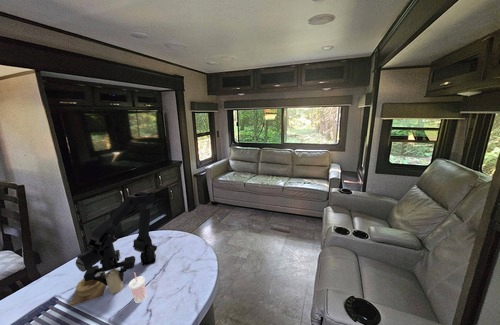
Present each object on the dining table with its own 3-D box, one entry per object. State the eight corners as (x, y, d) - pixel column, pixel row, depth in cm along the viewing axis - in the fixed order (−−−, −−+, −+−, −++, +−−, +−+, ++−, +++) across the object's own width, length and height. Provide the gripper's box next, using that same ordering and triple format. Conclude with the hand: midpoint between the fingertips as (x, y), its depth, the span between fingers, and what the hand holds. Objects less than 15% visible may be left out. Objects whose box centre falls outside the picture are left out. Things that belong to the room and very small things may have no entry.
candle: (116, 294, 90) (111, 277, 88) (106, 293, 92) (101, 275, 89) (126, 284, 96) (121, 267, 93) (116, 282, 97) (112, 265, 94)
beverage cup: (141, 305, 85) (135, 279, 81) (129, 303, 86) (122, 277, 82) (151, 293, 91) (145, 267, 87) (139, 291, 92) (133, 266, 88)
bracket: (110, 273, 103) (108, 267, 101) (102, 296, 90) (100, 289, 89) (81, 281, 98) (79, 275, 97) (69, 306, 86) (67, 299, 85)
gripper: (133, 238, 99) (139, 264, 103) (88, 249, 92) (96, 276, 96) (130, 252, 89) (136, 280, 93) (78, 265, 82) (88, 295, 87)
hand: (115, 282), depth 93 cm, fingers closed on candle, 5 cm apart
